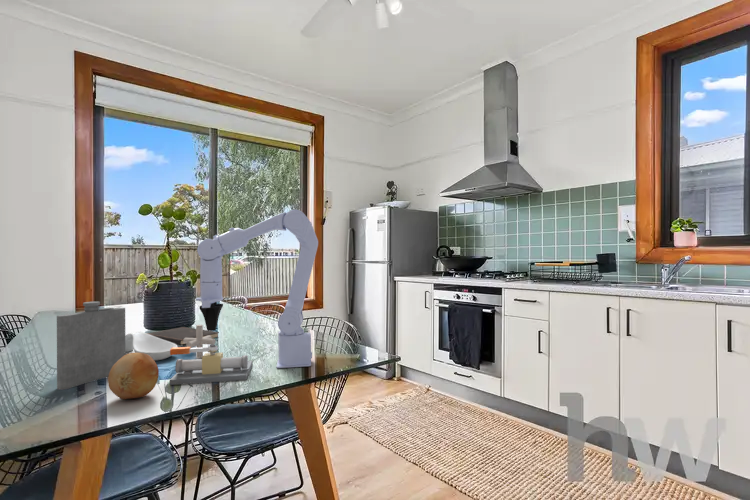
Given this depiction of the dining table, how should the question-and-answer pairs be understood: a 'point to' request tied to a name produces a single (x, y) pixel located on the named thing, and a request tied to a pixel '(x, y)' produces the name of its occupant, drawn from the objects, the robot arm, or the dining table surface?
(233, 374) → the board
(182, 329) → the hardcover book
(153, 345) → the spoon rest
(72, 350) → the hip flask
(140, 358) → the onion
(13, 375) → the dining table surface
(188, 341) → the pipe connector
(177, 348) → the valve lever
